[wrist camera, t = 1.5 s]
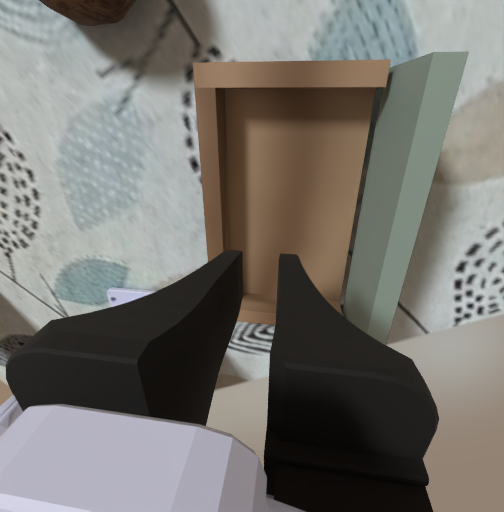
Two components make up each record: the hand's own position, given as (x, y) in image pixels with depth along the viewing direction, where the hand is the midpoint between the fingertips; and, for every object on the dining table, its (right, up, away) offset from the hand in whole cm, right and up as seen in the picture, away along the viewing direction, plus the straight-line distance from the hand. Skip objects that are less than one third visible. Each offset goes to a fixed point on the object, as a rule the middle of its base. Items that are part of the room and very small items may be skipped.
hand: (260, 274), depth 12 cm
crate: (+2, +4, +8) cm, 9 cm away
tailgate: (+7, +3, +6) cm, 10 cm away
